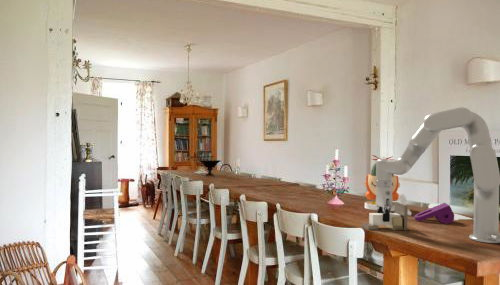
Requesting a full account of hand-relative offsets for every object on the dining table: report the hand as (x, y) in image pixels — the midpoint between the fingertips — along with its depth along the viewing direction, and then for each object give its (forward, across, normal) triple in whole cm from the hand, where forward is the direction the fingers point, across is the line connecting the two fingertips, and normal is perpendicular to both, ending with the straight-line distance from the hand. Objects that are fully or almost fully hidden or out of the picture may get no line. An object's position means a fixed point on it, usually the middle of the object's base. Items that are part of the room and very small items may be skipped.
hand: (383, 219), depth 194 cm
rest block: (+4, 0, +6) cm, 8 cm away
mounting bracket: (+5, +18, -36) cm, 41 cm away
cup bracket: (+4, 0, -6) cm, 7 cm away
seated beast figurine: (+4, +40, -30) cm, 50 cm away
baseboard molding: (+5, +36, -55) cm, 65 cm away
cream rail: (+2, 0, -1) cm, 2 cm away
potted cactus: (+4, +61, -24) cm, 66 cm away
